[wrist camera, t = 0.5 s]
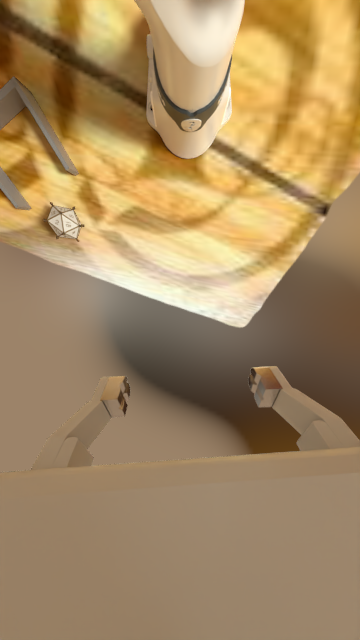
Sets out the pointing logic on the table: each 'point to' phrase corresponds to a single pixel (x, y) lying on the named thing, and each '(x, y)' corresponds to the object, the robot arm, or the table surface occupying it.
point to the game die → (64, 222)
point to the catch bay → (16, 97)
